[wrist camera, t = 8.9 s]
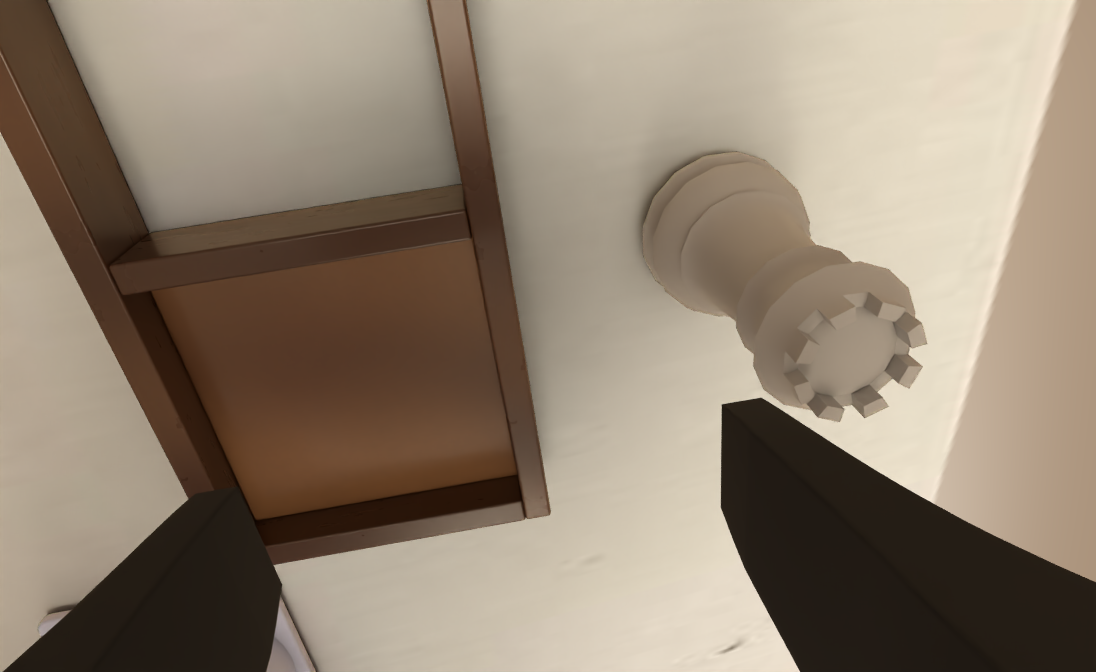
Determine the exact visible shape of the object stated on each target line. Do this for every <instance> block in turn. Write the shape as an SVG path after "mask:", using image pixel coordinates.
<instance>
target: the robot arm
mask: <svg viewBox="0 0 1096 672" xmlns="http://www.w3.org/2000/svg"><path fill="white" fill-rule="evenodd" d="M721 509H722V511H723V514H724V517H725V519H726V522H727V525H728V527H729V530H730V533H731V535H732V538H733V540H734V543H735V545H736V548H737V550H738V553H739V555H740V558H741V560H742V563H743V565H744V568H745V570H746V572H747V573H748V575H749V577H750V579H751V581H752V583H753V585H754V587H755V589H756V591H757V592H758V594H759V596H760V598H761V600H762V602H763V604H764V606H765V607H766V609H767V611H768V613H769V615H770V617H771V619H772V621H773V622H774V624H775V626H776V628H777V630H778V632H779V633H780V635H781V637H782V639H783V641H784V643H785V645H786V646H787V648H788V650H789V652H790V654H791V656H792V657H793V659H794V661H795V663H796V665H797V667H798V669H799V670H800V672H1096V582H1094V581H1091V580H1089V579H1087V578H1085V577H1082V576H1080V575H1078V574H1075V573H1073V572H1071V571H1069V570H1066V569H1064V568H1062V567H1059V566H1057V565H1055V564H1053V563H1051V562H1049V561H1047V560H1044V559H1042V558H1040V557H1038V556H1036V555H1034V554H1032V553H1030V552H1028V551H1025V550H1023V549H1021V548H1019V547H1017V546H1015V545H1012V544H1011V543H1008V542H1006V541H1004V540H1002V539H1000V538H998V537H996V536H994V535H992V534H990V533H988V532H985V531H984V530H982V529H980V528H978V527H976V526H974V525H972V524H970V523H968V522H966V521H964V520H962V519H961V518H959V517H957V516H955V515H953V514H951V513H950V512H948V511H946V510H944V509H942V508H940V507H938V506H937V505H935V504H933V503H931V502H930V501H928V500H926V499H924V498H922V497H920V496H919V495H917V494H915V493H913V492H912V491H910V490H908V489H906V488H905V487H903V486H901V485H899V484H898V483H896V482H894V481H893V480H891V479H889V478H888V477H886V476H884V475H883V474H881V473H879V472H878V471H876V470H874V469H873V468H871V467H869V466H868V465H866V464H865V463H863V462H861V461H860V460H858V459H856V458H855V457H853V456H852V455H850V454H848V453H847V452H845V451H844V450H842V449H841V448H839V447H837V446H836V445H834V444H833V443H831V442H830V441H828V440H827V439H825V438H823V437H822V436H820V435H819V434H817V433H816V432H814V431H813V430H811V429H810V428H808V427H806V426H805V425H803V424H802V423H800V422H799V421H797V420H796V419H794V418H793V417H791V416H790V415H788V414H787V413H785V412H783V411H782V410H780V409H779V408H777V407H776V406H774V405H772V404H771V403H769V402H768V401H766V400H764V399H763V398H757V399H751V400H745V401H739V402H733V403H728V404H722V441H721ZM281 588H282V584H281V581H280V579H279V577H278V575H277V573H276V570H275V568H274V566H273V564H272V561H271V559H270V557H269V555H268V552H267V550H266V548H265V546H264V543H263V541H262V539H261V537H260V534H259V532H258V530H257V528H256V525H255V523H254V521H253V519H252V516H251V514H250V512H249V510H248V508H247V505H246V503H245V501H244V499H243V496H242V494H241V492H240V490H239V487H238V486H237V487H231V488H225V489H219V490H213V491H207V492H201V493H196V494H195V495H193V496H192V497H191V498H190V499H189V500H187V501H186V502H185V503H184V504H183V505H182V506H181V507H179V508H178V509H177V510H176V511H175V512H174V513H173V514H172V515H171V516H170V517H168V518H167V519H166V520H165V521H164V522H163V523H162V524H161V525H160V526H159V527H158V528H157V529H156V530H155V531H154V532H153V533H152V534H151V535H149V536H148V537H147V538H146V539H145V540H144V541H143V542H142V543H141V544H140V545H139V546H138V547H137V548H136V549H135V550H134V551H133V552H132V553H131V554H130V555H129V556H128V557H127V558H126V559H125V560H124V561H122V562H121V563H120V564H119V565H118V566H117V567H116V568H115V569H114V570H113V571H112V572H111V573H110V574H109V575H108V576H107V577H106V578H105V579H104V580H103V581H101V582H100V583H99V584H98V585H97V586H96V587H95V588H94V589H93V590H92V591H91V592H90V593H89V594H88V595H87V596H86V597H85V598H84V599H83V600H82V601H80V602H79V603H78V604H77V605H76V606H75V607H74V608H73V609H72V610H68V611H62V612H57V613H51V614H49V615H46V616H45V617H44V618H43V619H42V621H41V622H40V624H39V625H38V629H37V630H38V632H39V634H40V635H41V638H40V639H39V640H38V641H37V642H35V643H34V644H33V645H32V646H31V647H30V648H29V649H28V650H27V651H25V652H24V653H23V654H22V655H21V656H20V657H19V658H18V659H16V660H15V661H14V662H13V663H12V664H11V665H10V666H9V667H8V668H6V669H5V670H4V671H3V672H316V671H315V669H314V667H313V664H312V662H311V660H310V658H309V656H308V654H307V652H306V649H305V647H304V645H303V643H302V641H301V639H300V637H299V634H298V632H297V630H296V628H295V626H294V624H293V622H292V620H291V617H290V615H289V613H288V611H287V609H286V607H285V605H284V602H283V600H282V598H281V596H280V595H281Z"/></svg>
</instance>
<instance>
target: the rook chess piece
mask: <svg viewBox="0 0 1096 672" xmlns="http://www.w3.org/2000/svg"><path fill="white" fill-rule="evenodd" d="M809 225H810V222H809V219H808V216H807V213H806V210H805V207H804V204H803V201H802V198H801V196H800V194H799V192H798V190H797V189H796V188H795V187H794V186H793V185H792V184H791V183H790V182H789V181H788V180H787V179H786V178H785V177H784V176H783V175H782V174H780V173H779V172H778V171H777V170H775V169H774V168H773V167H772V166H771V165H770V164H769V163H768V162H766V161H765V160H763V159H760V158H756V157H753V156H750V155H746V154H743V153H740V152H729V153H722V154H714V155H707V156H703V157H702V158H700V159H698V160H696V161H694V162H693V163H691V164H689V165H687V166H685V167H684V168H682V169H680V170H678V171H676V172H675V173H674V174H673V175H672V177H671V178H670V179H669V180H668V181H667V182H666V184H665V185H664V186H663V187H662V188H661V189H660V191H659V192H658V193H657V194H656V195H655V196H654V197H653V200H652V203H651V206H650V208H649V211H648V214H647V216H646V219H645V222H644V224H643V227H642V229H643V257H644V259H645V261H646V263H647V265H648V267H649V269H650V271H651V273H652V275H653V277H654V279H655V281H657V282H658V283H659V284H660V285H662V286H663V287H664V289H665V291H666V292H667V293H668V294H670V295H671V296H672V297H674V298H675V299H676V300H678V301H679V302H680V303H681V304H683V305H684V306H685V307H687V308H689V309H691V310H694V311H698V312H702V313H706V314H711V315H715V316H728V317H731V318H732V319H733V320H735V321H736V328H737V331H738V333H739V335H740V337H741V340H742V342H743V344H744V346H745V347H746V348H747V349H748V350H749V351H751V352H752V353H753V354H754V362H753V367H754V369H755V371H756V373H757V376H758V378H759V380H760V382H761V384H762V387H763V389H764V390H765V391H766V392H768V393H769V394H770V395H772V396H773V397H774V398H776V399H777V400H778V401H780V402H781V403H782V404H784V405H788V406H793V407H798V408H803V409H808V410H812V411H813V412H814V413H815V415H816V416H817V417H818V418H822V419H827V420H832V421H837V422H840V420H841V418H842V415H843V412H844V408H843V407H842V406H848V405H853V406H854V407H855V408H856V409H857V411H858V412H859V413H860V414H861V415H862V416H863V417H864V418H866V417H868V416H870V415H872V414H874V413H876V412H879V411H881V410H883V409H885V408H887V407H889V406H888V405H887V403H886V402H885V400H884V399H883V397H882V396H881V395H880V394H879V393H878V391H879V390H880V389H881V388H882V387H883V386H885V385H886V384H887V383H888V382H889V381H890V380H891V379H892V378H893V379H894V380H895V381H896V382H897V383H899V384H901V385H903V386H905V387H907V388H910V387H911V385H912V383H913V382H914V380H915V379H916V377H917V375H918V374H919V372H920V370H921V369H922V367H923V366H922V365H920V364H919V363H918V362H917V361H915V360H914V359H913V358H912V357H911V356H909V355H908V353H909V347H911V348H915V347H918V346H922V345H925V344H927V340H926V336H925V333H924V329H923V325H922V323H921V322H920V321H918V320H917V319H916V318H915V310H914V307H913V303H912V300H911V296H910V292H909V289H908V287H907V286H906V285H905V284H904V283H903V282H902V281H900V280H899V279H898V278H897V277H896V276H895V275H894V274H893V273H892V272H891V271H890V270H889V269H886V268H882V267H878V266H875V265H871V264H867V263H864V262H853V263H852V262H851V261H850V260H849V259H848V258H847V257H846V256H845V255H844V254H843V253H842V252H841V251H837V250H834V249H830V248H826V247H823V246H819V245H816V244H815V243H814V242H813V241H812V240H811V239H810V236H811V235H810V232H809Z"/></svg>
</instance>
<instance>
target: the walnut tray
mask: <svg viewBox="0 0 1096 672" xmlns="http://www.w3.org/2000/svg"><path fill="white" fill-rule="evenodd" d="M427 5H428V10H429V16H430V21H431V26H432V31H433V37H434V42H435V47H436V52H437V57H438V63H439V68H440V73H441V78H442V84H443V89H444V94H445V99H446V104H447V110H448V115H449V120H450V125H451V131H452V136H453V141H454V146H455V151H456V157H457V162H458V167H459V172H460V178H461V183H462V184H459V185H453V186H447V187H440V188H434V189H428V190H421V191H415V192H408V193H402V194H396V195H389V196H383V197H376V198H370V199H364V200H357V201H351V202H345V203H338V204H332V205H325V206H319V207H313V208H306V209H300V210H293V211H287V212H281V213H274V214H268V215H262V216H255V217H249V218H242V219H236V220H230V221H223V222H217V223H211V224H204V225H198V226H191V227H185V228H179V229H172V230H166V231H159V232H153V233H150V234H149V233H148V231H147V229H146V227H145V224H144V222H143V220H142V218H141V215H140V213H139V211H138V208H137V206H136V204H135V202H134V199H133V197H132V195H131V192H130V190H129V188H128V186H127V183H126V181H125V179H124V177H123V174H122V172H121V170H120V167H119V165H118V163H117V161H116V158H115V156H114V154H113V151H112V149H111V147H110V145H109V142H108V140H107V138H106V136H105V133H104V131H103V129H102V126H101V124H100V122H99V120H98V117H97V115H96V113H95V111H94V108H93V106H92V104H91V101H90V99H89V97H88V95H87V92H86V90H85V88H84V85H83V83H82V81H81V79H80V76H79V74H78V72H77V70H76V67H75V65H74V63H73V60H72V58H71V56H70V54H69V51H68V49H67V47H66V44H65V42H64V40H63V38H62V35H61V33H60V31H59V29H58V26H57V24H56V22H55V19H54V17H53V15H52V13H51V10H50V8H49V6H48V4H47V1H46V0H0V132H1V134H2V136H3V138H4V140H5V142H6V144H7V146H8V148H9V150H10V152H11V154H12V156H13V158H14V159H15V161H16V163H17V165H18V167H19V169H20V171H21V173H22V175H23V177H24V179H25V181H26V183H27V185H28V187H29V189H30V191H31V193H32V195H33V197H34V198H35V200H36V202H37V204H38V206H39V208H40V210H41V212H42V214H43V216H44V218H45V220H46V222H47V224H48V226H49V228H50V230H51V232H52V234H53V236H54V237H55V239H56V241H57V243H58V245H59V247H60V249H61V251H62V253H63V255H64V257H65V259H66V261H67V263H68V265H69V267H70V269H71V271H72V273H73V274H74V276H75V278H76V280H77V282H78V284H79V286H80V288H81V290H82V292H83V294H84V296H85V298H86V300H87V302H88V304H89V306H90V308H91V310H92V312H93V313H94V315H95V317H96V319H97V321H98V323H99V325H100V327H101V329H102V331H103V333H104V335H105V337H106V339H107V341H108V343H109V345H110V347H111V349H112V351H113V352H114V354H115V356H116V358H117V360H118V362H119V364H120V366H121V368H122V370H123V372H124V374H125V376H126V378H127V380H128V382H129V384H130V386H131V388H132V390H133V391H134V393H135V395H136V397H137V399H138V401H139V403H140V405H141V407H142V409H143V411H144V413H145V415H146V417H147V419H148V421H149V423H150V425H151V427H152V428H153V430H154V432H155V434H156V436H157V438H158V440H159V442H160V444H161V446H162V448H163V450H164V452H165V454H166V456H167V458H168V460H169V462H170V464H171V466H172V467H173V469H174V471H175V473H176V475H177V477H178V479H179V481H180V483H181V485H182V487H183V489H184V491H185V493H186V495H187V497H188V499H190V498H191V497H192V496H193V495H195V494H196V493H201V492H207V491H213V490H219V489H225V488H231V487H237V486H238V487H239V490H240V492H241V494H242V496H243V499H244V501H245V503H246V505H247V508H248V510H249V512H250V514H251V516H252V519H253V521H254V523H255V525H256V528H257V530H258V532H259V534H260V537H261V539H262V541H263V543H264V546H265V548H266V550H267V552H268V555H269V557H270V559H271V561H272V564H273V565H276V564H281V563H287V562H292V561H298V560H304V559H309V558H315V557H320V556H326V555H332V554H337V553H343V552H348V551H354V550H359V549H365V548H371V547H376V546H382V545H387V544H393V543H398V542H404V541H410V540H415V539H421V538H426V537H432V536H438V535H443V534H449V533H454V532H460V531H465V530H471V529H477V528H482V527H488V526H493V525H499V524H504V523H510V522H516V521H521V520H525V517H526V518H527V519H531V518H537V517H542V516H548V515H550V513H551V510H550V504H549V498H548V492H547V485H546V479H545V473H544V467H543V461H542V455H541V449H540V443H539V437H538V431H537V425H536V419H535V413H534V407H533V401H532V395H531V389H530V383H529V377H528V371H527V365H526V359H525V353H524V347H523V341H522V335H521V329H520V323H519V317H518V311H517V304H516V298H515V292H514V286H513V280H512V274H511V268H510V262H509V256H508V250H507V244H506V238H505V232H504V226H503V220H502V214H501V208H500V202H499V196H498V190H497V184H496V178H495V172H494V166H493V160H492V154H491V148H490V142H489V136H488V130H487V124H486V117H485V111H484V105H483V99H482V93H481V87H480V81H479V75H478V69H477V63H476V57H475V51H474V45H473V39H472V33H471V27H470V21H469V15H468V9H467V3H466V0H427Z"/></svg>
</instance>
